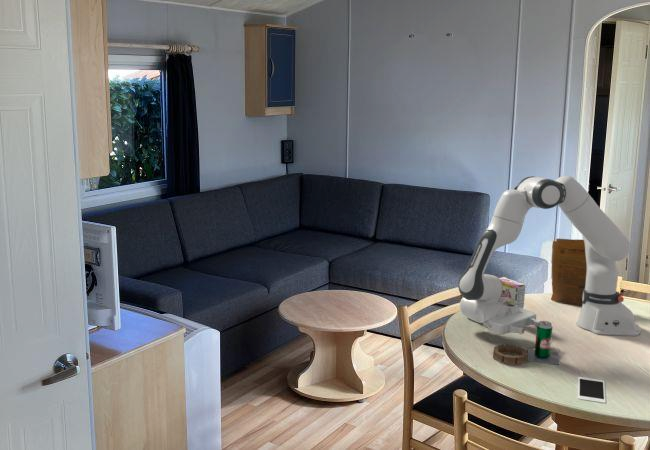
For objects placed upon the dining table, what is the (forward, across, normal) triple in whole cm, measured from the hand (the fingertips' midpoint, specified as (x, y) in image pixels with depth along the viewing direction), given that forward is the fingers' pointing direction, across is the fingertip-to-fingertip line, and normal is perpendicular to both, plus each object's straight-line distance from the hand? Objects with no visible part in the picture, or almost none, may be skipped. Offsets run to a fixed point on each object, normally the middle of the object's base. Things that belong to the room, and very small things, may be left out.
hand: (531, 328), depth 248 cm
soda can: (+5, 0, +8) cm, 10 cm away
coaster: (+6, 0, +9) cm, 10 cm away
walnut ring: (-1, -10, +9) cm, 13 cm away
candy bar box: (-23, +18, +9) cm, 30 cm away
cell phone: (+29, -9, +9) cm, 32 cm away
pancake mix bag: (-20, +57, +9) cm, 61 cm away
